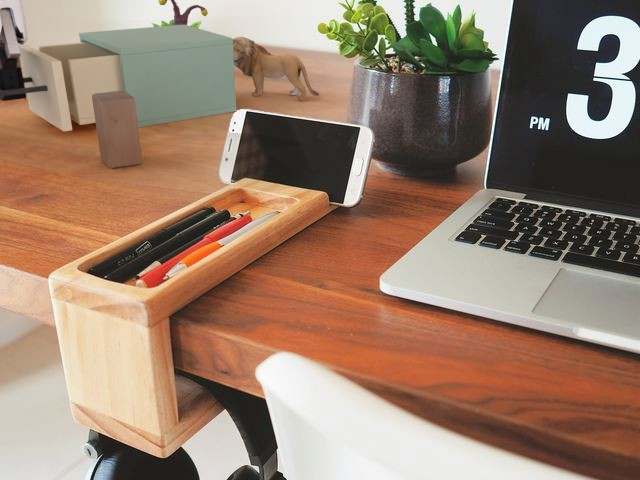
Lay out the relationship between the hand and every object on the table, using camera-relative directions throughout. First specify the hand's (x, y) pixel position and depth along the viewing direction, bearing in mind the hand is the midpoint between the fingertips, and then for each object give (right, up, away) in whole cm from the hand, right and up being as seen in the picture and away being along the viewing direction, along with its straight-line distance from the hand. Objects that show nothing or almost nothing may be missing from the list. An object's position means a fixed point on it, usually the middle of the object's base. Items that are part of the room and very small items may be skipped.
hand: (12, 98), depth 94 cm
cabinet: (+16, +2, +14) cm, 21 cm away
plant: (+8, +22, +52) cm, 57 cm away
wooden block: (+17, -10, -8) cm, 21 cm away
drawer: (+6, -1, +6) cm, 9 cm away
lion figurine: (+31, +6, +23) cm, 39 cm away
